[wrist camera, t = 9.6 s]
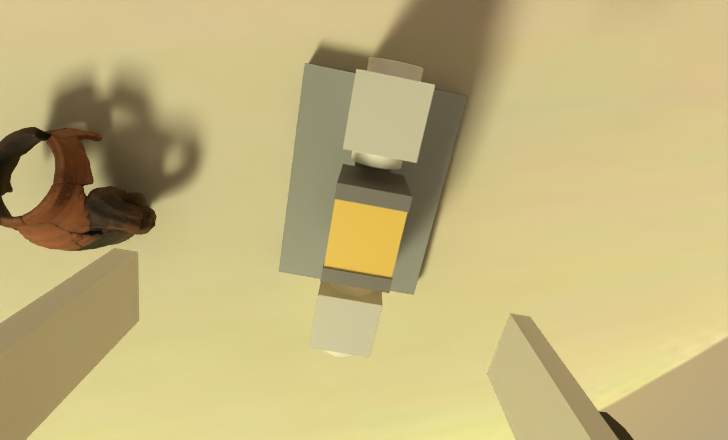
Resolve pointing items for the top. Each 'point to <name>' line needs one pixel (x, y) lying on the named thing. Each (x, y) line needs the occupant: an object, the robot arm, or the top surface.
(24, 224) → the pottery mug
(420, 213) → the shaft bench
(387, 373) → the top surface
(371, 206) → the box
